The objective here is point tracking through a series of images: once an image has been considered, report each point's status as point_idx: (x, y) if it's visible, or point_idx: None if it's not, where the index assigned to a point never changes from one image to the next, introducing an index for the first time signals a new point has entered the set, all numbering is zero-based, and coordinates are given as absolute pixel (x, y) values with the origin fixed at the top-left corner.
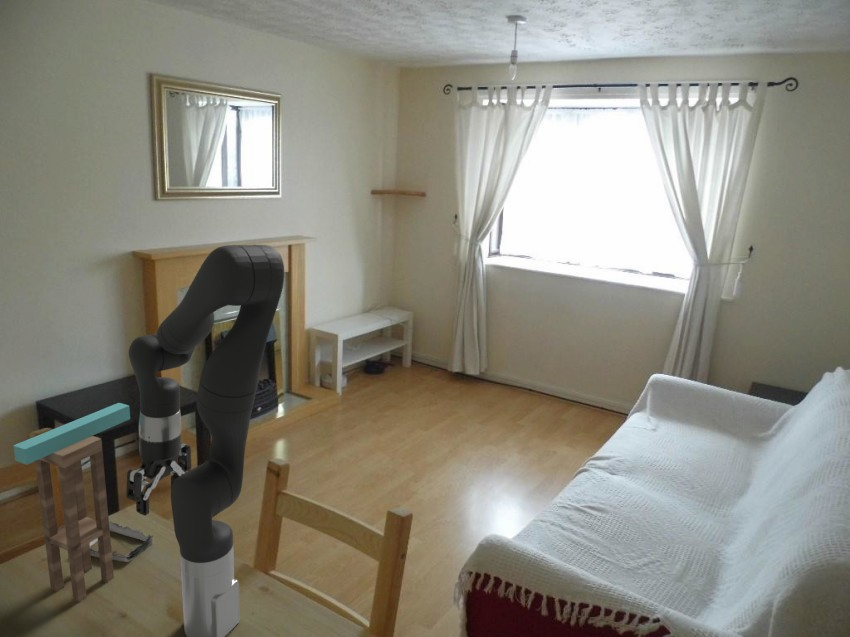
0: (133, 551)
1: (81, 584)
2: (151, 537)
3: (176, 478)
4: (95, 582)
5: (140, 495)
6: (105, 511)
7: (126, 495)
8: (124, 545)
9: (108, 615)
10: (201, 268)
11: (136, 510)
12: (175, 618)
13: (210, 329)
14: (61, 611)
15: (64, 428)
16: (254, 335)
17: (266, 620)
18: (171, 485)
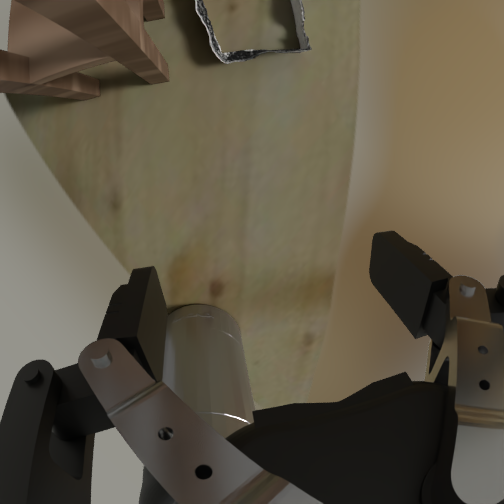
0: (243, 54)
1: (78, 95)
2: (304, 49)
3: (420, 320)
4: None
5: (89, 444)
6: (109, 33)
7: (14, 385)
8: (260, 6)
9: (97, 180)
10: None
11: (113, 294)
12: (171, 286)
13: None
14: (56, 100)
15: None
16: None
17: (255, 381)
18: (393, 252)
